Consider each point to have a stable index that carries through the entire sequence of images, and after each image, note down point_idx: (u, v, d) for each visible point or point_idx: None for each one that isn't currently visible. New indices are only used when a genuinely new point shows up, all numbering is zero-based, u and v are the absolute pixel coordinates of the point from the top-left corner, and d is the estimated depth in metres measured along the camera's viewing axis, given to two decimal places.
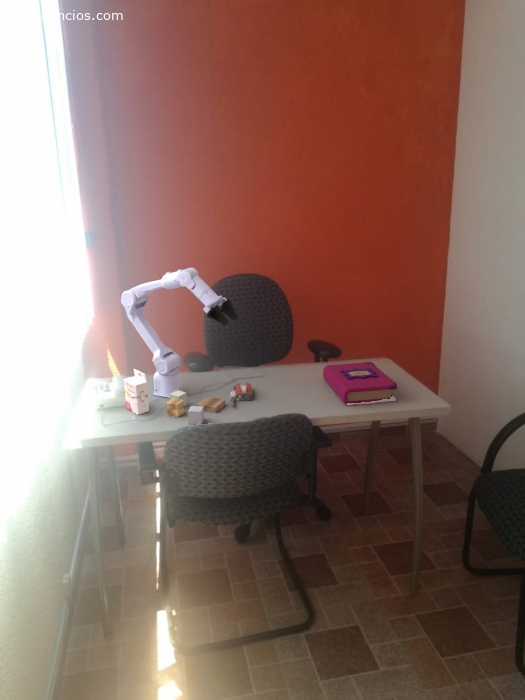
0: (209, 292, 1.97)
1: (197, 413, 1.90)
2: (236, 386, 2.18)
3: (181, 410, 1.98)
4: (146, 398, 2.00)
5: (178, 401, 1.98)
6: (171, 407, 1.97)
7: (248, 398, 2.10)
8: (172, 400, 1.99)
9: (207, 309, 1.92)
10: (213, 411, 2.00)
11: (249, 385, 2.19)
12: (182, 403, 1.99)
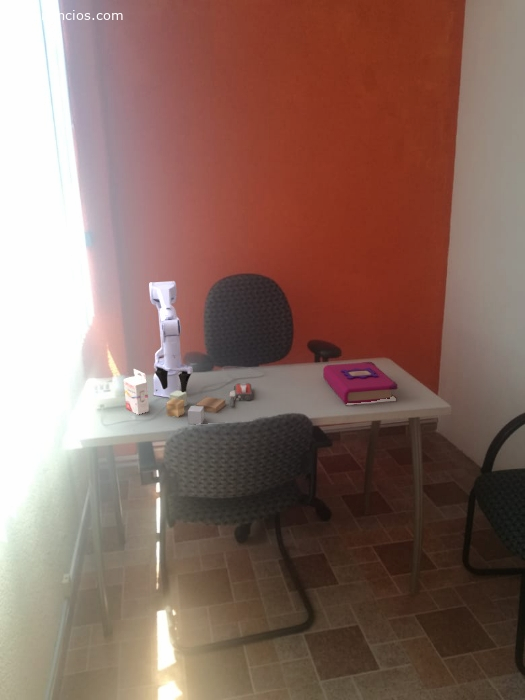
0: (165, 357, 1.91)
1: (197, 413, 1.90)
2: (236, 386, 2.18)
3: (181, 410, 1.98)
4: (146, 398, 2.00)
5: (178, 401, 1.98)
6: (171, 407, 1.97)
7: (248, 398, 2.10)
8: (172, 400, 1.99)
9: None
10: (213, 411, 2.00)
11: (249, 385, 2.19)
12: (182, 403, 1.99)
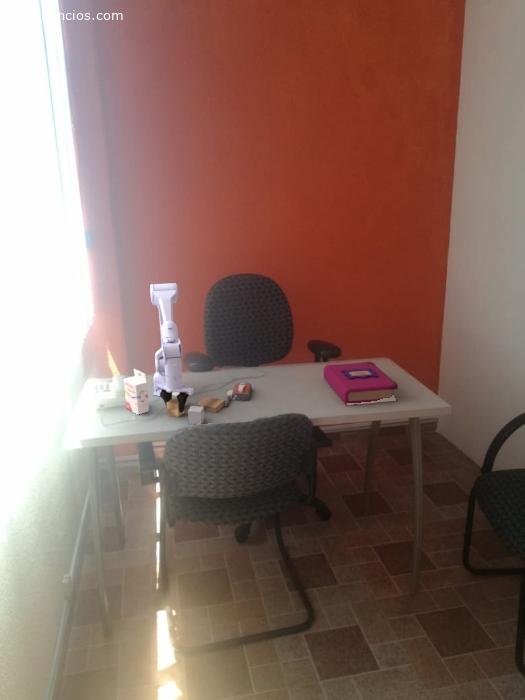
0: (166, 379, 1.94)
1: (197, 413, 1.90)
2: (236, 385, 2.19)
3: None
4: (146, 398, 2.00)
5: None
6: (171, 407, 1.97)
7: (244, 398, 2.10)
8: (172, 400, 1.99)
9: None
10: (213, 411, 2.00)
11: (249, 385, 2.19)
12: None
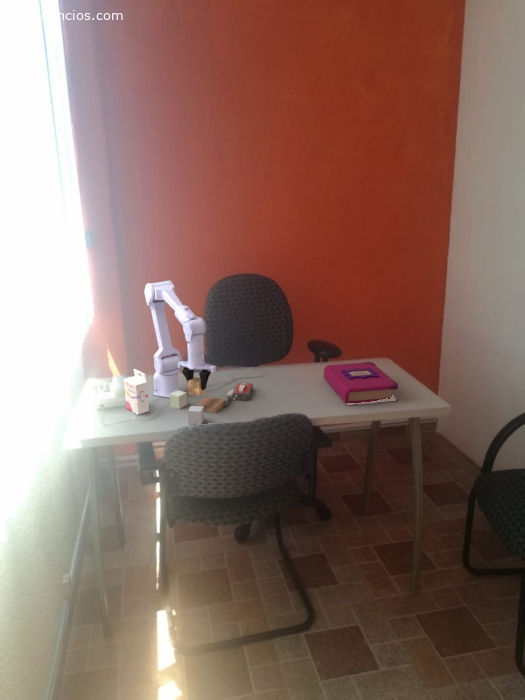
0: (189, 356, 1.95)
1: (197, 413, 1.90)
2: (237, 385, 2.19)
3: None
4: (146, 398, 2.00)
5: (199, 379, 1.99)
6: (193, 386, 1.98)
7: (244, 398, 2.10)
8: (194, 379, 2.00)
9: None
10: (213, 411, 2.00)
11: (250, 385, 2.19)
12: None
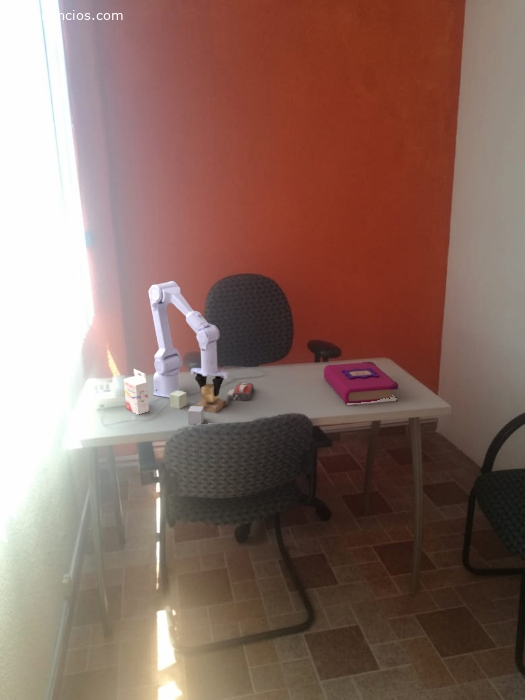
0: (202, 363, 1.98)
1: (197, 413, 1.90)
2: (238, 385, 2.19)
3: None
4: (146, 398, 2.00)
5: (212, 386, 2.02)
6: (206, 392, 2.01)
7: (244, 398, 2.10)
8: (207, 385, 2.03)
9: None
10: (213, 411, 2.00)
11: (251, 385, 2.19)
12: None
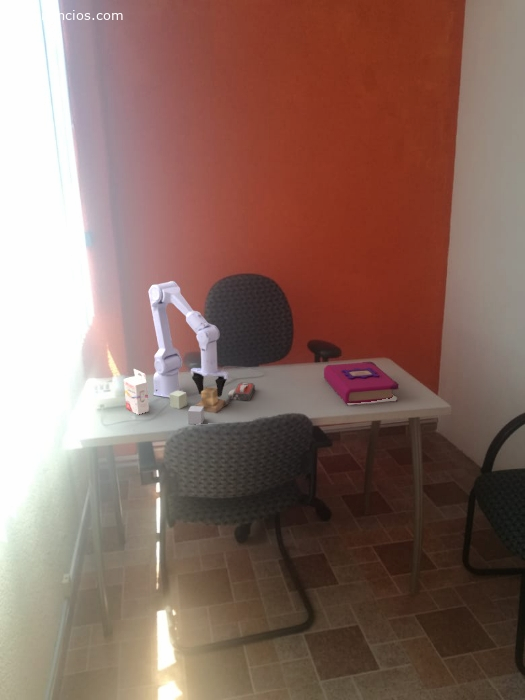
0: (202, 363, 1.98)
1: (197, 413, 1.90)
2: (239, 385, 2.19)
3: (215, 398, 2.03)
4: (146, 398, 2.00)
5: (212, 389, 2.03)
6: (206, 396, 2.01)
7: (244, 398, 2.10)
8: (206, 389, 2.03)
9: None
10: (213, 411, 2.00)
11: (252, 385, 2.19)
12: (216, 391, 2.03)
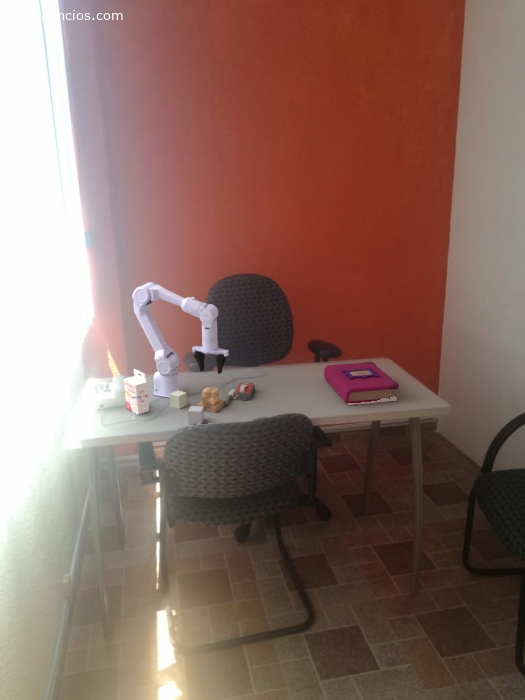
0: (203, 341, 2.06)
1: (197, 413, 1.90)
2: (239, 385, 2.19)
3: (216, 398, 2.03)
4: (146, 398, 2.00)
5: (213, 389, 2.03)
6: (207, 395, 2.01)
7: (244, 398, 2.10)
8: (207, 389, 2.04)
9: None
10: (213, 411, 2.00)
11: (252, 385, 2.19)
12: (217, 391, 2.03)
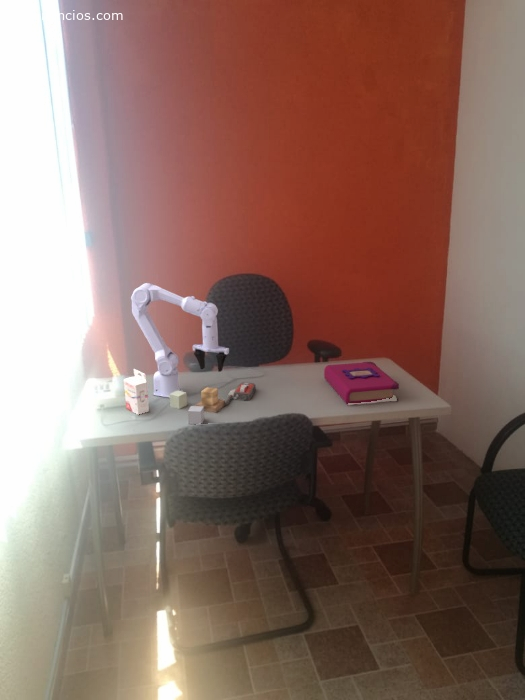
0: (204, 339, 2.08)
1: (197, 413, 1.90)
2: (240, 385, 2.19)
3: (215, 398, 2.03)
4: (146, 398, 2.00)
5: (212, 389, 2.03)
6: (206, 396, 2.01)
7: (245, 398, 2.10)
8: (206, 389, 2.04)
9: None
10: (213, 411, 2.00)
11: (252, 385, 2.19)
12: (216, 392, 2.03)
